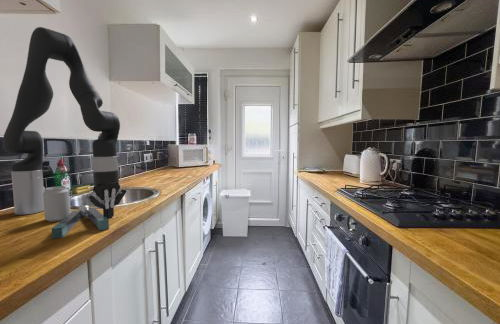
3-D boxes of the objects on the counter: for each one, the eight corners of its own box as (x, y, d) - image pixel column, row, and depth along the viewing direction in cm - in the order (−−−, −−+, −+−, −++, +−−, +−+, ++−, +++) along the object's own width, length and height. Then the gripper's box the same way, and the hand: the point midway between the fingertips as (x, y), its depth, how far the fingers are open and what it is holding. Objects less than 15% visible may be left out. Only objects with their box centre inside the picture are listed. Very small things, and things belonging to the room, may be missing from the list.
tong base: (76, 216, 92) (75, 206, 91) (90, 215, 93) (89, 204, 93) (52, 238, 70) (51, 225, 70) (70, 236, 72) (70, 223, 71)
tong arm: (87, 216, 90) (86, 208, 90) (95, 215, 92) (94, 207, 92) (100, 230, 76) (99, 221, 76) (109, 228, 78) (108, 219, 78)
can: (73, 215, 93) (71, 184, 93) (67, 220, 87) (65, 188, 86) (49, 217, 91) (47, 186, 90) (41, 223, 84) (38, 189, 83)
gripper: (119, 167, 90) (121, 212, 92) (79, 170, 79) (82, 221, 81) (130, 168, 86) (132, 215, 88) (89, 172, 75) (93, 225, 76)
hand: (108, 218), depth 84 cm, fingers closed
